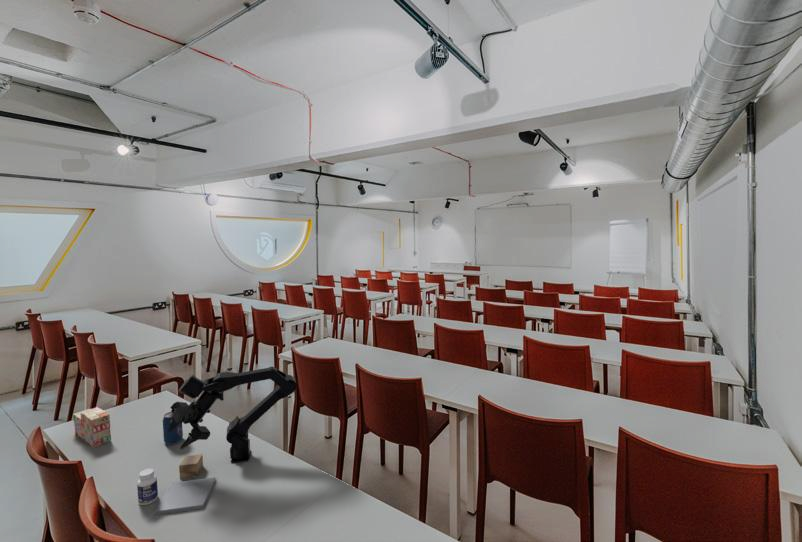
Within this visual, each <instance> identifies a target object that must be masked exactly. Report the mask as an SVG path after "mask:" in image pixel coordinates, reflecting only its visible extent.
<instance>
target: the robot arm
mask: <svg viewBox="0 0 802 542" xmlns="http://www.w3.org/2000/svg"><path fill="white" fill-rule="evenodd" d="M266 380H271V381H273V382H274V383H275V384H276V385H275V387H274V388H273V390H272V391H271V392H270V393H269V394H268V395H266V397H264V398H263V399H262V400H261V401H260V402H259V403H257V404H256V405H255V406H254V407H253V408H252V409H251V410H250V411H249V412H248V413H247V414H245V415H244V416H243V417H242V416H241V417H239V416H238V415H237V416H236V417H234V419H233V420H232V421H230V422H228V426H227V428H226V437H225V438H226V441H227V443H229V444H230V448H229V453H230V454H229V455H230V457H229V458H230V463H239V462H240V463H241V462H247V461H249V459H250V457H251V454H252V450H251V442H250V441H251V440H250V439H251V438H249V430H250V427H252V426H253V424H254V423H256V422H257V421H258V420H259V419H260V418H261V417H262V416H263V415H265V414H266V413H267V412H268V411H269V410H270V409H271V408H272V407H273V406H274V405H276V403H278V402H279V401H280V400H282V399H284V398H287V397H289V396H290V395H292V394H293V393H295V391H296V390H297V386H298V385H297V382H296V379H295V377H294V376H293V375H292V374H286V373H285V372H283V371H282V370H280V369H278V368H276V367H275V366H269V367H266V368H265V367H263V368H259V369H254V370H248V371H243V372H230V371H229V372H228V371H225V372H224V371H223V372H222V371H221V372H219V373H218V372H217V373H216V374H215V375H214V376H212V377H209V378H206V379H204V381H203V380H201V379H200V378H198V377H197V376H195V375H193V374H192V375H190V376H189V377H188V378H187V379H186V380H185V381H184V382H183V383H182V385H181V386H180V388H179V389H178V392H179V393H180V394H183V395H184V396H187V397H189V398H190V399H196V398H197V399H196V400H195V401H192V402H190V403H189V404H188V403H187V402H186V401H185V402H183V401H176V402H173V404H171V406H170V409H171V410H170V412H172V421H171V424H170V427H169V429H168V432H171V431H172V430H174V429H175V428H176V427H177V426H178V425H179V424H180V423H182V424H184V425H187V424H190V426H191V427H192V429H191V431H190V432H188V435H187V438H186V439H185V440H184V442H183V443H182V444H181V446H180V447H179V449H180V450H183V449H185V448H187V447H188V446H190V445H191V444H193V443H196V441H199V440H200V441H201V440H203V441H204V440H206V441H207V440H208V439H209V437H210V436H211V431H210V430H209V429H208V427H207V426H204V425H200V424H199V423H203V421H204V419H203V418H204V416H206V414H210V412H211V408H212V407H213V405H214V404H215V403H216V402H217V401H218V400H219V401H221V402H223V401H224V399H225V395H224V392H226V391H229V390H232V389H233V388H235V387H237V386H240V385H245V384H251V383H256V382H261V381H266Z"/></svg>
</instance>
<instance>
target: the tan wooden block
mask: <svg viewBox="0 0 802 542" xmlns="http://www.w3.org/2000/svg"><path fill="white" fill-rule="evenodd" d="M202 467H203V468H204V459H203V453H202V454H200V453H199V454H193V455H190V454H189V455H185V456H184V457H183V459H182V460H181V462H180V463H179V465H178V468H179V469H178V470H179V471H178V472H179V479H186V478H193V476H196V477H199V475H200V473H201V472H202V470H203V468H202Z"/></svg>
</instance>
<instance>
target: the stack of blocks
mask: <svg viewBox="0 0 802 542" xmlns="http://www.w3.org/2000/svg"><path fill="white" fill-rule="evenodd" d="M72 418H73V419H72V420H73V426H74V434H75V433H76V434H75V435H77V434H78V435H77V437H79V436H80V437H81V438H80V437H79V438H80V439H82V440H83V439H84V440H83V441H84V442H86V443H87V442H88V443H89V444H88V443H87V444H88V445H90V446H91V447H92V448H93V447H94V448H97V447H99V446H102V445H103V443H104V444H106V443H105V442H107V443H109V442H108V441H110V442H112V434H111V420H110V419H111V418H110V413H108V412H107V411H106V410H104V409H102V408H100V407H93V408H87V409H84V410H82V411H79V412H76V413H73V414H72ZM101 444H102V445H101ZM98 445H99V446H98ZM96 446H97V447H96Z"/></svg>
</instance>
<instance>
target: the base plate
mask: <svg viewBox="0 0 802 542" xmlns="http://www.w3.org/2000/svg"><path fill="white" fill-rule="evenodd" d="M216 481H217V480H216V477H205V478H200V479H191V480H190V479H189V480H185V481H183V480H182V481H174V482H171V484H170V486H169V487H168V489H167V490H166V492H165V494H164V496H163V497H162V499H160V501H159V503H158V505H157V506H156V508H155V510H154V513H153V514H154V516H156V515H163V514H172V513H173V514H174V513H177V512H178V513H181V512H185V511H193V510H199V509H204V507H205V505H206V503H207V500H208V498H209V496H210V495H211V491H212V490H213V487H214V486H215V482H216Z"/></svg>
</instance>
